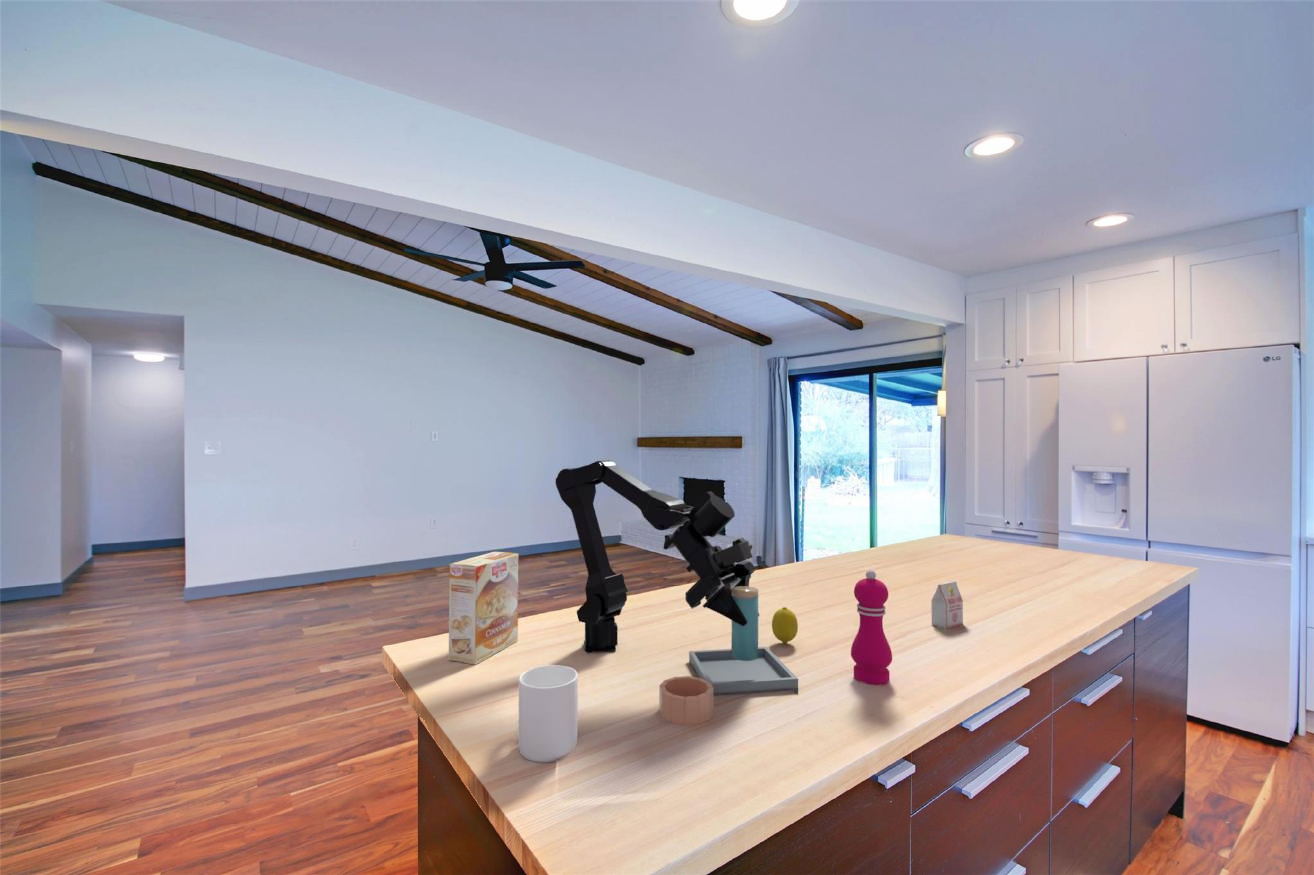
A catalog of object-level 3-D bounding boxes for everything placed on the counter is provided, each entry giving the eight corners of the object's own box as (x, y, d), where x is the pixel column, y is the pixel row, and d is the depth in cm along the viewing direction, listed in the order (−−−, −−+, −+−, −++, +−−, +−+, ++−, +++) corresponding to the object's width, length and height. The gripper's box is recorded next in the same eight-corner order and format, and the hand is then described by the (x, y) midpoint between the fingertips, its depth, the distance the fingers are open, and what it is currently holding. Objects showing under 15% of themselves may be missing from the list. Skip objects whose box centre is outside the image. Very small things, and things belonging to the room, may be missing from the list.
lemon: (798, 649, 121) (798, 611, 122) (771, 647, 123) (771, 609, 123) (797, 640, 127) (797, 604, 127) (771, 638, 128) (771, 602, 128)
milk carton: (931, 624, 138) (931, 583, 138) (948, 620, 142) (948, 579, 142) (946, 628, 135) (945, 586, 135) (962, 624, 139) (962, 582, 139)
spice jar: (744, 662, 100) (745, 594, 100) (725, 654, 104) (726, 588, 104) (763, 656, 103) (764, 590, 103) (744, 649, 107) (744, 584, 107)
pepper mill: (891, 673, 109) (890, 567, 109) (893, 688, 102) (893, 575, 102) (851, 668, 111) (850, 565, 111) (850, 683, 104) (850, 572, 104)
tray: (709, 699, 97) (709, 684, 97) (689, 663, 113) (689, 651, 113) (798, 693, 100) (798, 678, 100) (766, 659, 116) (766, 646, 116)
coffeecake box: (476, 665, 112) (476, 566, 113) (446, 660, 115) (447, 563, 115) (519, 641, 126) (520, 552, 127) (492, 637, 129) (493, 550, 129)
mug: (498, 735, 85) (499, 665, 86) (549, 718, 90) (549, 653, 91) (534, 771, 76) (534, 693, 76) (588, 751, 81) (588, 677, 81)
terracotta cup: (664, 730, 87) (664, 700, 87) (656, 705, 95) (656, 678, 95) (718, 725, 88) (718, 696, 88) (705, 701, 97) (705, 674, 97)
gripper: (700, 531, 98) (760, 606, 92) (746, 519, 114) (800, 583, 108) (662, 571, 103) (716, 645, 96) (711, 554, 118) (761, 617, 112)
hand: (751, 620), depth 103 cm, fingers closed on spice jar, 5 cm apart
